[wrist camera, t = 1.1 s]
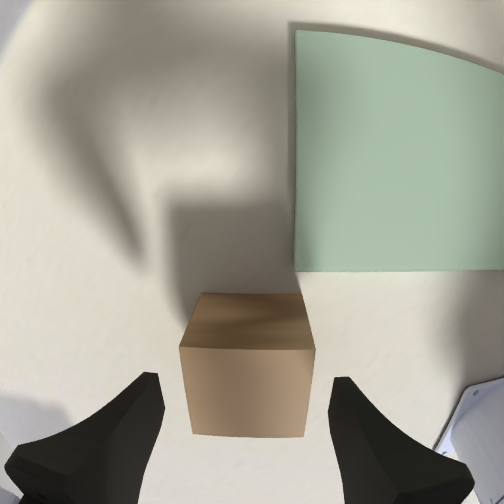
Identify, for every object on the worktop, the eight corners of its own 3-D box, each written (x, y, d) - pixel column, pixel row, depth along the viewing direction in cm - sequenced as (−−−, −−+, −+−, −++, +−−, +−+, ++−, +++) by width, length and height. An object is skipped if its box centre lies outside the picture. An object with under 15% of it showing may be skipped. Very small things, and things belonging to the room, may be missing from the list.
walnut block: (302, 293, 16) (315, 349, 11) (295, 372, 18) (303, 437, 13) (202, 292, 16) (178, 346, 11) (208, 370, 18) (192, 433, 13)
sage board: (522, 87, 12) (530, 85, 11) (512, 264, 15) (519, 269, 14) (294, 35, 12) (296, 29, 12) (293, 265, 15) (294, 271, 15)
